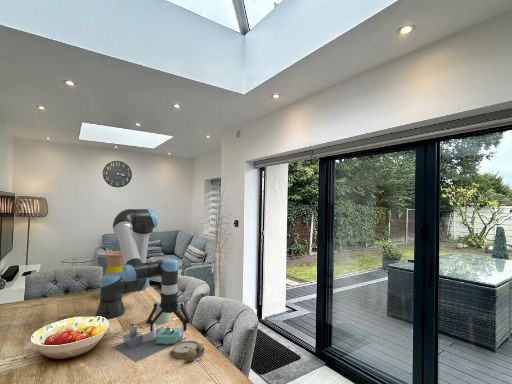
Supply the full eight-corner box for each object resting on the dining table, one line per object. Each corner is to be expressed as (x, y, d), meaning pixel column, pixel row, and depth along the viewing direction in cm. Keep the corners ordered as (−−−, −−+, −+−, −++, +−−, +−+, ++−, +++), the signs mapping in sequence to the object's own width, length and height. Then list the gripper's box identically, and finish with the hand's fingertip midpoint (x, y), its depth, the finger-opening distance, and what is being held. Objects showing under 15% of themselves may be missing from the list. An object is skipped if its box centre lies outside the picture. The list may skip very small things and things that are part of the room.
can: (166, 326, 147) (167, 303, 148) (151, 324, 149) (151, 302, 150) (174, 319, 156) (175, 298, 157) (160, 318, 158) (160, 296, 159)
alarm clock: (184, 339, 128) (210, 340, 121) (185, 350, 127) (211, 352, 121) (166, 350, 118) (193, 352, 111) (167, 362, 117) (194, 365, 111)
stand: (123, 344, 126) (123, 325, 126) (135, 339, 131) (136, 321, 131) (129, 348, 122) (130, 329, 123) (142, 343, 127) (143, 324, 128)
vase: (94, 298, 191) (96, 254, 192) (115, 289, 212) (117, 249, 214) (123, 300, 187) (124, 255, 189) (141, 290, 209) (143, 250, 210)
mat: (112, 348, 124) (112, 346, 124) (162, 328, 145) (162, 327, 145) (135, 364, 112) (135, 362, 112) (186, 340, 132) (187, 338, 132)
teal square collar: (155, 343, 125) (156, 336, 125) (161, 334, 134) (161, 328, 134) (175, 343, 126) (175, 336, 126) (180, 334, 135) (180, 327, 135)
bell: (155, 341, 129) (156, 327, 130) (170, 335, 136) (170, 321, 136) (166, 346, 124) (166, 332, 125) (180, 340, 131) (180, 326, 131)
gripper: (139, 295, 127) (138, 342, 126) (194, 294, 128) (193, 341, 127) (145, 290, 134) (144, 334, 133) (197, 289, 135) (196, 333, 134)
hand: (168, 338), depth 130 cm, fingers open, 13 cm apart
